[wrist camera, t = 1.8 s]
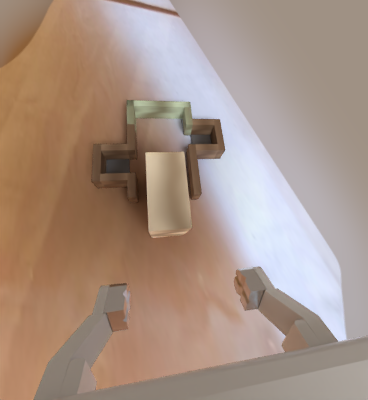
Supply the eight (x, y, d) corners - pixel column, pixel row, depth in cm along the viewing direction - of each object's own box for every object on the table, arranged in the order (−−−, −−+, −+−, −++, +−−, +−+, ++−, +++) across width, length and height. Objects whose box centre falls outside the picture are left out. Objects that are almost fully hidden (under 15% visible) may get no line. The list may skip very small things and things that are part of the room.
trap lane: (97, 204, 29) (90, 199, 26) (100, 112, 34) (95, 99, 31) (226, 197, 32) (232, 192, 29) (212, 114, 37) (216, 102, 34)
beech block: (151, 237, 29) (148, 231, 20) (149, 179, 32) (145, 152, 23) (182, 235, 30) (192, 228, 21) (177, 178, 32) (184, 151, 24)
